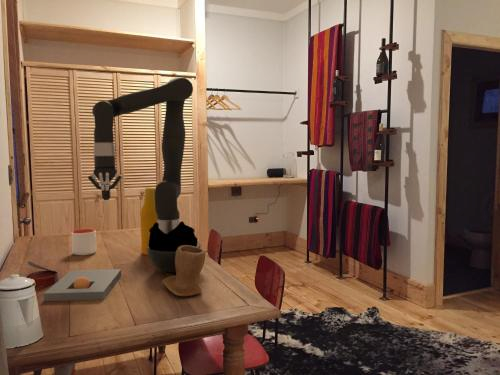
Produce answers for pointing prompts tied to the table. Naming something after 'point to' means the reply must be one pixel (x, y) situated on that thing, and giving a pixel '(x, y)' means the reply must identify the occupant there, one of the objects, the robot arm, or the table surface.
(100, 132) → the robot arm
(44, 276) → the canned food
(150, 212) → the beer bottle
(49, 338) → the table surface
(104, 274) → the grey flat block
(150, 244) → the bowl of black rocks
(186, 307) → the table surface
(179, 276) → the tan suede boot
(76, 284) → the ball
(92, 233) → the cup
